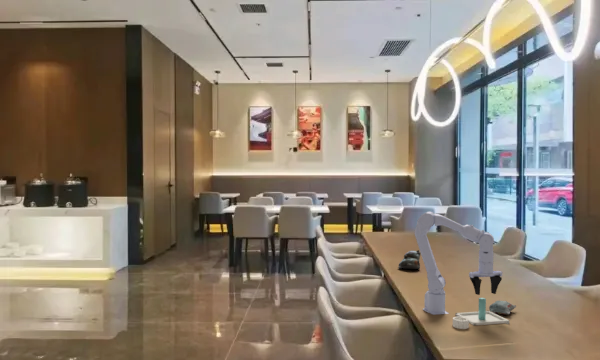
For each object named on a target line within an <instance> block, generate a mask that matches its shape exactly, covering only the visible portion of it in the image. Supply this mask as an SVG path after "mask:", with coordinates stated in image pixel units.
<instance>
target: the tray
mask: <svg viewBox="0 0 600 360" xmlns="http://www.w3.org/2000/svg"><path fill="white" fill-rule="evenodd" d="M478 313H479V311H468V312H455V317H465V318H468V319H469V325H470V324H471V325H472V326H484V325H485V326H487V325H497V324H498V325H499V324H501V325H502V324H506V325H510V320H509V319H507V318H505V317H503V316H500V314H496V313H493V312H490V310H486V320H480V319H478Z"/></svg>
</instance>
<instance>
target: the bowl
mask: <svg viewBox="0 0 600 360" xmlns="http://www.w3.org/2000/svg"><path fill="white" fill-rule="evenodd" d="M469 327H470V323H469V319H468V318H465V317H457V316H453V317H452V328H455V329H458V330H459V329H460V330H466V329H469Z"/></svg>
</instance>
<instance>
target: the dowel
mask: <svg viewBox="0 0 600 360" xmlns="http://www.w3.org/2000/svg"><path fill="white" fill-rule="evenodd" d="M486 305H487V298H485V297H479V298H478V312H479V313H478V319H480V320H486V311H487V309H486V308H487V306H486Z"/></svg>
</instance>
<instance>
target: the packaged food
mask: <svg viewBox="0 0 600 360" xmlns="http://www.w3.org/2000/svg"><path fill="white" fill-rule="evenodd" d="M516 308H517V305H516V304H513V303H511V302H509V301H507V300H495V301H494V302H493V303H492V304H490V305H489V308H488V309H489V310H488V311H490V312H492V313H494V314H496V315H506V316H507V315H510V314H511V312H512V311H514V309H516Z"/></svg>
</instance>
